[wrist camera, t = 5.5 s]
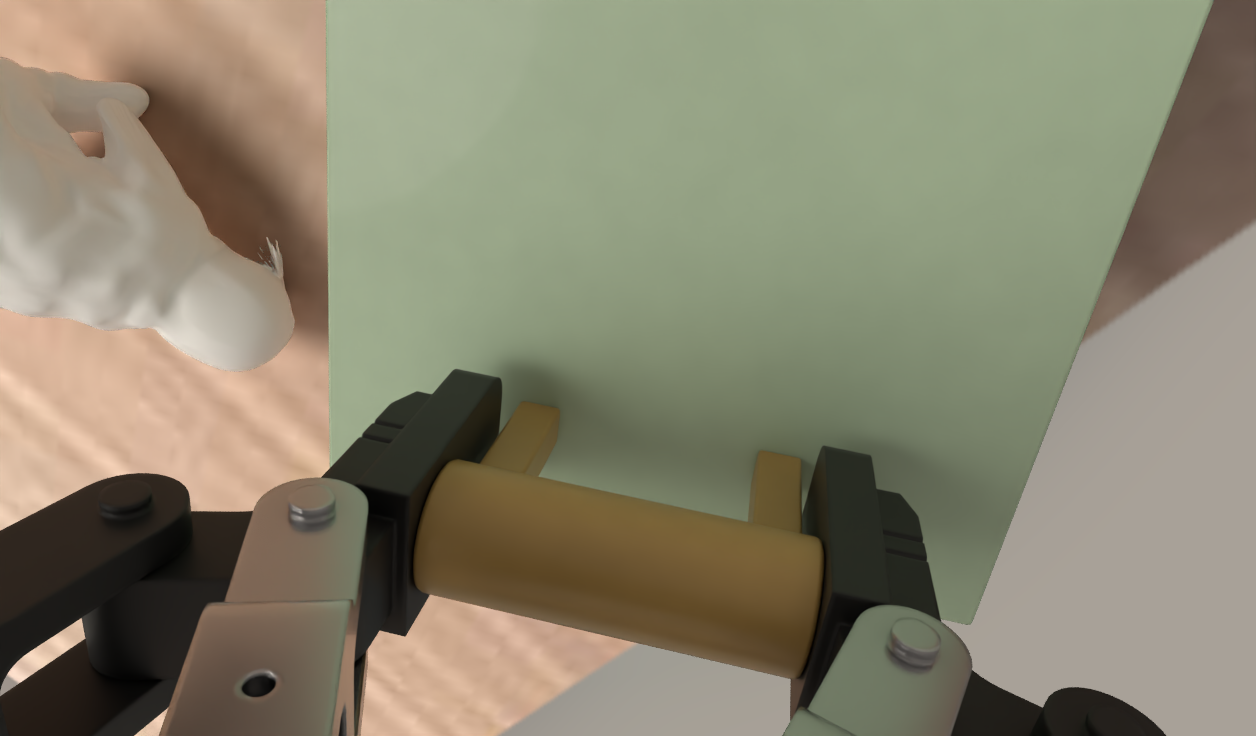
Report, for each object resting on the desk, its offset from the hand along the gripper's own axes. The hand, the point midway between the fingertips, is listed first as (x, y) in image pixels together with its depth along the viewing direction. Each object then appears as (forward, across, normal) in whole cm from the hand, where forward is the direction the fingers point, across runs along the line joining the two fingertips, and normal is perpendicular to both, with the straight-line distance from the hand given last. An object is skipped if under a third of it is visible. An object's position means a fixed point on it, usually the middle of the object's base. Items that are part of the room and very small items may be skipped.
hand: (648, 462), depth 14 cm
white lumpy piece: (+15, +18, +3) cm, 24 cm away
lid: (+2, 0, -7) cm, 7 cm away
